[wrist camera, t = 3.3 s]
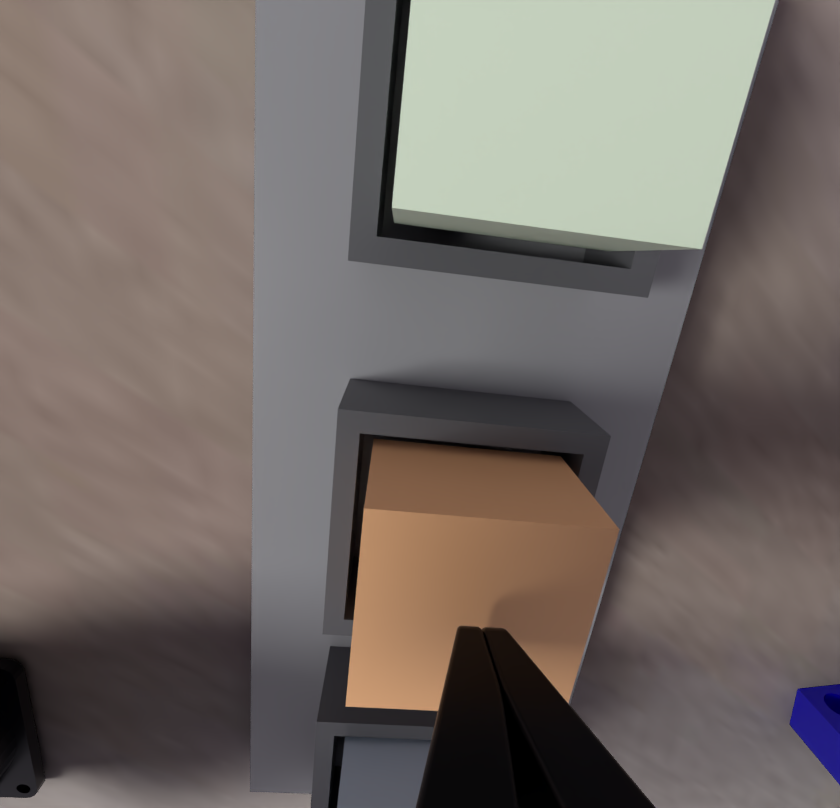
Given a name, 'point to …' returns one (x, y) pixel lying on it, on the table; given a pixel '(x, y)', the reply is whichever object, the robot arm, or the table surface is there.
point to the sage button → (573, 117)
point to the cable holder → (819, 724)
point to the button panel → (404, 362)
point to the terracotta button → (471, 566)
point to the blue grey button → (382, 772)
